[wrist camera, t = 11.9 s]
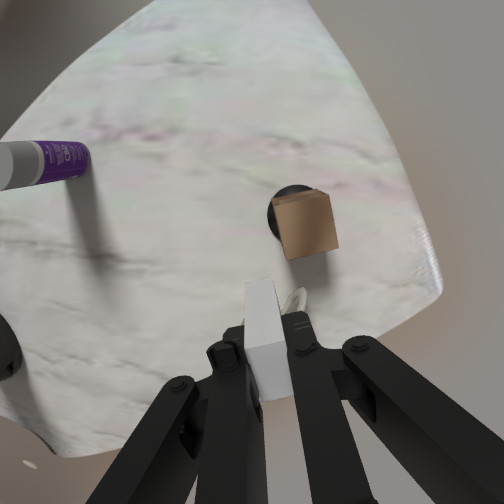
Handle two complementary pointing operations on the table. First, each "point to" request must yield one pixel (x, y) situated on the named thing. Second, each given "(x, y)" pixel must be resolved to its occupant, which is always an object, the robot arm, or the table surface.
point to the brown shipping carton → (305, 223)
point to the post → (282, 192)
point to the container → (41, 162)
